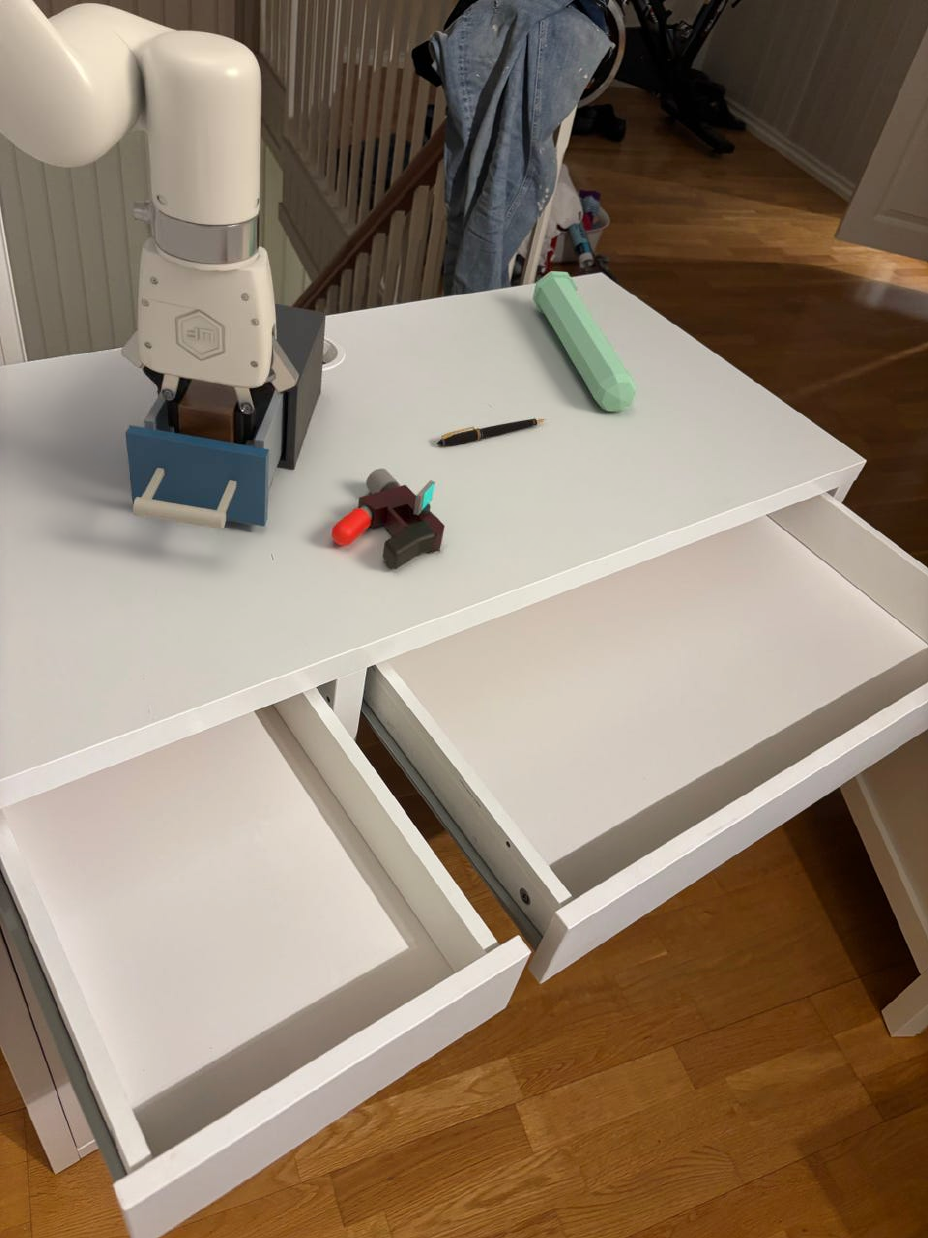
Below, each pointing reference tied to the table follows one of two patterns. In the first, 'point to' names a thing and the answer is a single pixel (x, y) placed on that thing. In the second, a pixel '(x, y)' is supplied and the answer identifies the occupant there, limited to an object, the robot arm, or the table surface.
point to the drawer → (205, 469)
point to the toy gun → (394, 519)
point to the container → (584, 341)
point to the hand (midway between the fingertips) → (212, 437)
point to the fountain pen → (485, 432)
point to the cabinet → (299, 371)
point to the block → (208, 411)
